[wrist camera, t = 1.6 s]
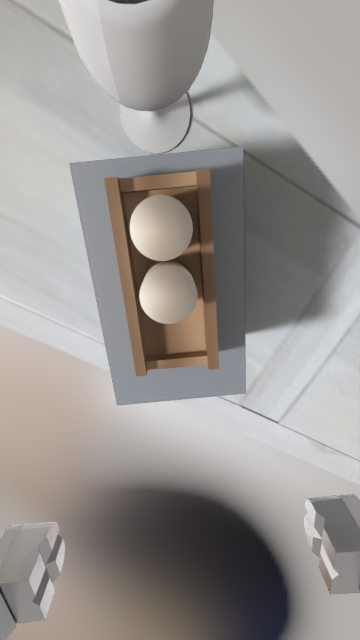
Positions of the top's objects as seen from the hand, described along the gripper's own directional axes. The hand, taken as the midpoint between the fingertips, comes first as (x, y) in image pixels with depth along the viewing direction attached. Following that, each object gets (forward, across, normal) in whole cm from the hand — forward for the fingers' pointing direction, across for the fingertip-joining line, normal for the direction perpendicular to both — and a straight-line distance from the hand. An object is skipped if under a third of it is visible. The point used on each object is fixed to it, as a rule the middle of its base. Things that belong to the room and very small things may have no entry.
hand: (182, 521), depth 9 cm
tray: (+16, 0, -5) cm, 17 cm away
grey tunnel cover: (+28, 0, -4) cm, 28 cm away
